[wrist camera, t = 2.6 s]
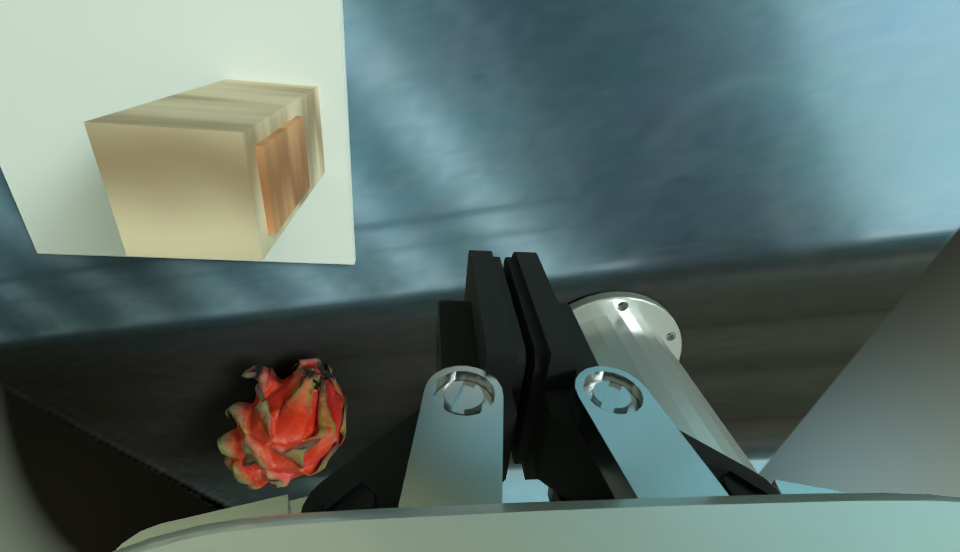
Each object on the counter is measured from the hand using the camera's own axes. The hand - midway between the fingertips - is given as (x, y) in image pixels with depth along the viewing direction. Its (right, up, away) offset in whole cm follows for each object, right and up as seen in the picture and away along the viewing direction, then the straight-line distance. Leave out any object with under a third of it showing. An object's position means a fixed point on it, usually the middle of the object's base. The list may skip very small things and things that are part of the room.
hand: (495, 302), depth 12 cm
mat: (-18, +10, +15) cm, 26 cm away
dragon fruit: (-15, -8, +26) cm, 32 cm away
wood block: (-12, +9, +15) cm, 22 cm away
